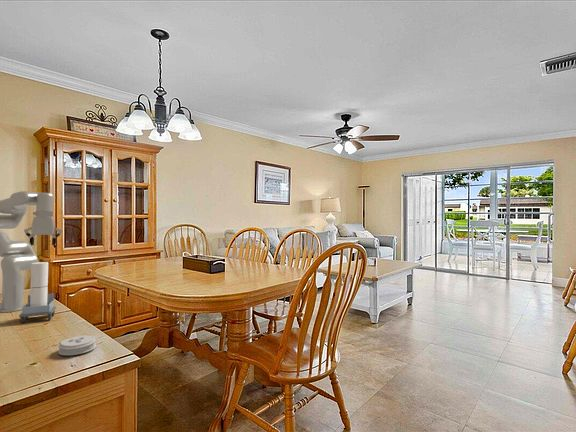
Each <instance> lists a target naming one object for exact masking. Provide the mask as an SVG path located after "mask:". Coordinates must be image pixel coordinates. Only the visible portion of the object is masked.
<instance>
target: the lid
mask: <svg viewBox="0 0 576 432" xmlns="http://www.w3.org/2000/svg"><path fill="white" fill-rule="evenodd" d="M96 342H97V339H96V338H95V337H94V336H93V335H78V336H73V337H69V338H67V339H64V340H62V341H61V342H60V343H59V344H58V345H57V347H58V352H57V353H58V355H60V356H77V355H81V354H84V353H89V352H91V351H92V350H94V349H95V348H96V347H97V344H96Z"/></svg>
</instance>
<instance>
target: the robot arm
mask: <svg viewBox="0 0 576 432" xmlns="http://www.w3.org/2000/svg"><path fill="white" fill-rule="evenodd" d="M54 198H55V196H54V194H53V193H50V192H38V191H21V190H20V191H18V192H17V191H16V192H14V193H12V194H11V195H10V196H9V197H8V198H4V199H2V200H0V258H2V259H1V261H0V268H1V276H2V286H1V287H2V288H1V302H0V313H10V312H11V313H13V312H19V311H22V307H23V306H25V305H26V304H24V293H25V292H24V291H25V278H24V275H23V274H22V273H21V272H22V271H29V270H30V271H31V263H36V262H40V261H39V258H38V256H37V254H36V252H35V251H34V249H33V247H32V246H33V245H35V238H34V237H35V236H52V239H51V245H52V246H55V244H57V238H58V237H60V236H61V234H62V233H63V230H62V229H60V228H58V227H56V222H55V221H56V220H55V217H54ZM28 206H36V207H35V209H36V210H35V212H33V211H32V215H33V216H34V217H33V219H32V223H31V227H28V228H26V229H24V230H23V232H24V233H25V235H26V236H27V237H28V238H29V243H28V242H27V241H25V240H13V239H11V238H10V236H9V235H8V234H7V233H6V232H4V231H3V230H4V229H5V230H7V229H15V228H17V227H19V225H20V224H21V222H22V220H23V218H24V216H25V214H26V212H27V210H28ZM29 231H31V233H30V232H29ZM56 231H57V232H58V233H56ZM55 233H56V234H55Z"/></svg>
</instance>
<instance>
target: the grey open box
mask: <svg viewBox="0 0 576 432" xmlns="http://www.w3.org/2000/svg"><path fill="white" fill-rule="evenodd" d="M54 304H55V293H47V305H43V306H32V307H30V294H27V303H25V304H24V305H25V306H23V307H22V310H21V313H20V314H19V315H18V317H19V318H20V324H22V323H25V320H26V319H29V317H34V316H35V317H37V316H39V317H40V316H47V320H49V321H51V320H52V318H53V316H55V313H56V309H57V308H56V306H54Z"/></svg>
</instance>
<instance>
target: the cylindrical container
mask: <svg viewBox="0 0 576 432" xmlns="http://www.w3.org/2000/svg"><path fill="white" fill-rule="evenodd" d="M48 284H49V262H48V261H42V262H40V261H39V262H36V263H31V269H30V288H29V289H30V294H29V295H30V307H32V306H43V305H47V294H49V292H48V290H49V289H48Z"/></svg>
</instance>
